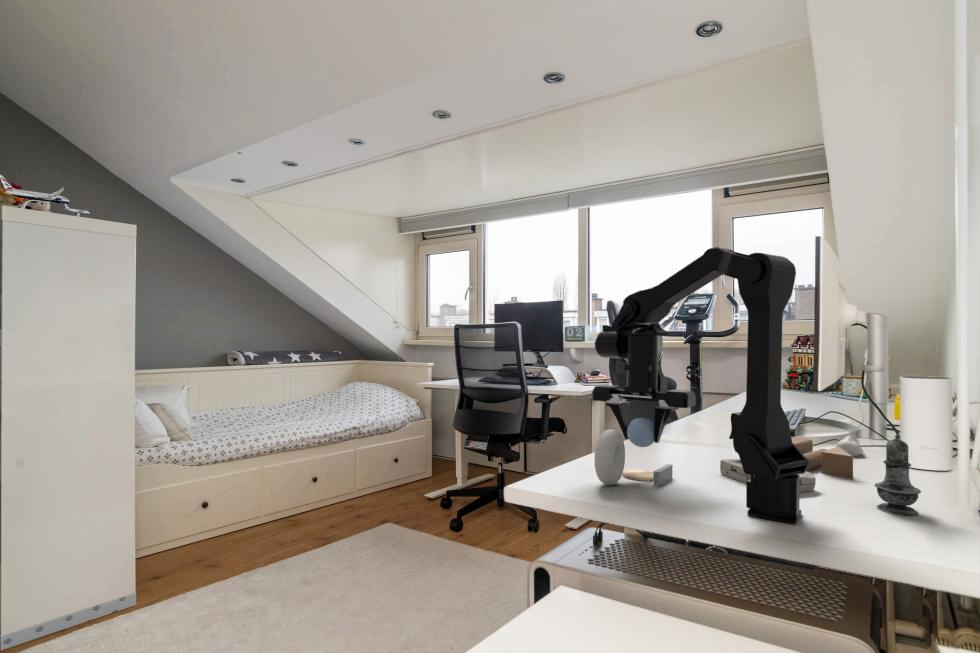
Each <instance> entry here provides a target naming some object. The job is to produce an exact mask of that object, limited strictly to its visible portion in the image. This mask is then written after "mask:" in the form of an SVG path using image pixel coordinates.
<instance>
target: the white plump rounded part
mask: <svg viewBox="0 0 980 653" xmlns="http://www.w3.org/2000/svg"><path fill="white" fill-rule="evenodd" d="M625 445H626V444H625V440H624V439H623V436H622V434H621V433H620V432H619V431H618V430H616V429H613V428H611V429H610V428H609V429H605V430H604V431H602V432H601V433H600V434H599V437H598V438H597V441H596V444H595V450H594V469H595V473H596V477H597V478H598V480H599V482H600V483H602V484H603V485H605V486H613V485H615V484H617V483H619V481H620V480H621V478H622V476H623V475H622V473H623V472H624V469H625V463H626V447H625Z"/></svg>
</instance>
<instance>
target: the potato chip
mask: <svg viewBox="0 0 980 653" xmlns="http://www.w3.org/2000/svg"><path fill="white" fill-rule="evenodd" d="M653 475H654V471H649V470H640V469H629V470H625V471H624V470H623V473H622V476H623V477H624V478H625V479H629V480H634V481H641V482H651V481H652V482H653Z"/></svg>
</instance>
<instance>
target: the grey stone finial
mask: <svg viewBox="0 0 980 653" xmlns="http://www.w3.org/2000/svg"><path fill="white" fill-rule="evenodd" d="M894 437H895V438H893V439H891V440H888V441H887V442H886V445H885V446H886V450H885V455H886V456H885V458H886V459H885V460H883V463H884V465H885V475H884V479H883V480H882V481H880V482H876V483H874V487H875V488H876V493H877V495H878V496H879V498H880V499H881V500H883V502H881V503H880V504H878V505H876V509H877V510H880V511H882V512H885V513H888V514H892V515H898V516H904V517H912V516H914V517H916V516H918V515H920V514H919V511H918V510H916V509H915V508H913V507H911V505H913V504H915V503H916V502H917V501H918V499H919V494H921V493H922V490H921V489H920V488H918V487H915V486H914V485H913V484H912V483H911V482H912V481H911V480H910V467H912V464H911V463H910V462H909V445H908V443H907V442H905V441H903V440H901V439H900V435H899V434H898V433H896V434H895V436H894Z"/></svg>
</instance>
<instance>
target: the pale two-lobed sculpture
mask: <svg viewBox="0 0 980 653" xmlns="http://www.w3.org/2000/svg"><path fill="white" fill-rule="evenodd" d="M859 442H860V441H859V439H858V438H857V437H856V436H855V435H852V434H849V435H845V436H844V438H843V439H842V440H839V441H838V442H837V443H836V447H839V448H841V449H842V450H844V451H845V452H847V453H849V454H850V455H852V456H853V457H858V456H859V455H862V454H864V450H863V448H862V447H861V445H860V443H859Z"/></svg>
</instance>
